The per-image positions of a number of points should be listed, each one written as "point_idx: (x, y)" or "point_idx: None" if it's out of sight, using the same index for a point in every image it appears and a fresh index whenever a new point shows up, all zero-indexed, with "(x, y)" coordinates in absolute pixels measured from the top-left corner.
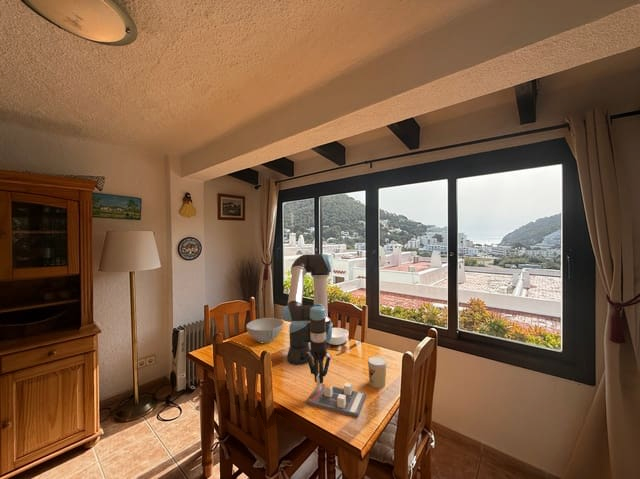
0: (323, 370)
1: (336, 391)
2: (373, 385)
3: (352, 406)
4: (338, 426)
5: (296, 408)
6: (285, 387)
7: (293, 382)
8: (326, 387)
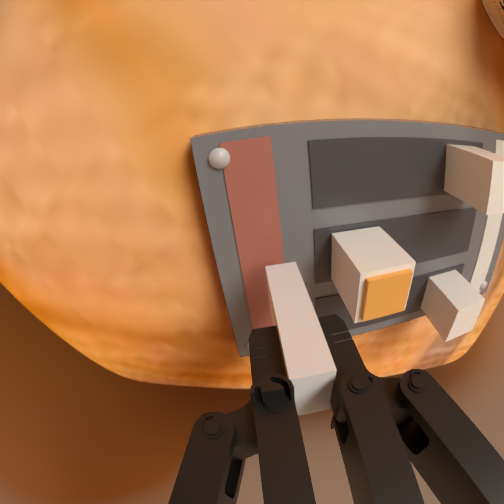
0: (394, 421)
1: (395, 183)
2: None
3: (477, 266)
4: (417, 351)
5: (215, 375)
6: (33, 283)
7: (18, 218)
8: (373, 314)
